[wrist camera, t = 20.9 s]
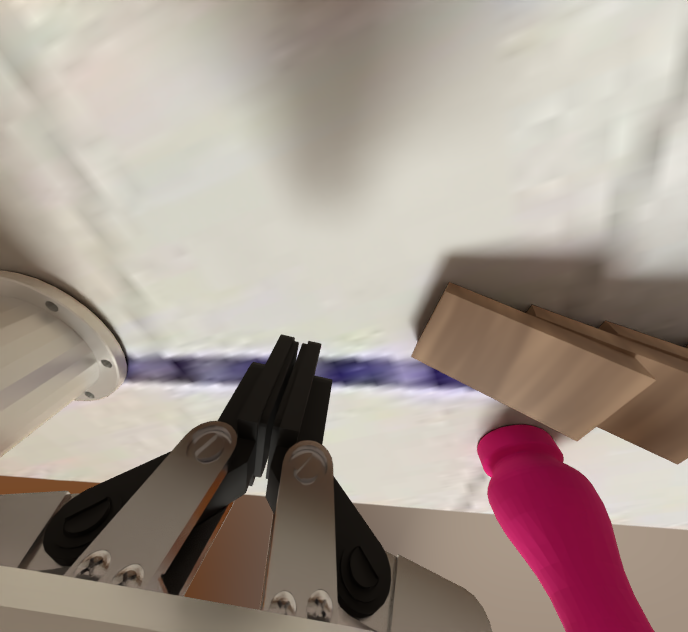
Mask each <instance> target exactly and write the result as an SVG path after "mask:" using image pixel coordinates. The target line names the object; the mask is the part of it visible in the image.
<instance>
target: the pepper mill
mask: <svg viewBox="0 0 688 632" xmlns="http://www.w3.org/2000/svg"><path fill="white" fill-rule="evenodd" d="M477 452H478V455H479V458H480V461H481V463H482V466H483V469H484V471H485V472H486V474H487V475H488V476H490V477H491V480H490V482H489V486H488V494H487V495H488V499H489V503H490V505H491V507H492V510H493V512H494V514H495V516H496V519H497V520H498V522H499V524H500V525H501V527H502V529H503V530H504V532H505V534H506V535H507V537H508V538H509V539H510V541H511V542H512V543H513V544H514V546H515V547H516V549H517V550H518V551H519V553H520V554H521V555H522V557H523V558H524V559H525V561H526V562H527V563H528V565H529V566H530V568H531V569H532V570H533V572H534V573H535V574H536V576H537V577H538V579H539V581H540V582H541V584H542V586H543V587H544V589H545V591H546V592H547V594H548V596H549V597H550V599H551V601H552V603H553V605H554V607H555V610H556V612H557V614H558V616H559V618H560V620H561V622H562V624H563V626H564V628H565V631H566V632H654V630H653V629H652V627H651V625H650V623H649V622H648V620H647V618H646V616H645V614H644V613H643V610H642V609H641V607H640V605H639V603H638V601H637V599H636V597H635V595H634V594H633V591H632V588H631V586H630V584H629V581H628V579H627V577H626V574H625V572H624V569H623V565H622V562H621V559H620V555H619V551H618V547H617V544H616V539H615V535H614V532H613V528H612V524H611V521H610V518H609V516H608V513H607V511H606V509H605V506H604V504H603V502H602V500H601V499H600V497H599V495H598V494H597V492H596V490H595V489H594V487H593V485H592V484H591V482H590V481H589V480H588V479H587V478H586V477H585V476H584V475H583V474H582V473H580V472H579V471H578V470H576V469H574V468H572V467H570V466H569V465H567V464H564V463H563V461H564V457H563V454H562V452H561V451H560V449H559V448H558V446H557V445H556V443H555V442H554V440H553V439H552V437H551V436H550V435H549V434H548V433H547V432H546V431H544V430H543V429H541V428H538V427H535V426H531V425H510V426H505V427H501V428H498V429H495V430H493V431H491V432H490V433H488V434H486V435H485V436H484V437H483V438H482V439H481V440H480V442H479V444H478V447H477Z"/></svg>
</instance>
